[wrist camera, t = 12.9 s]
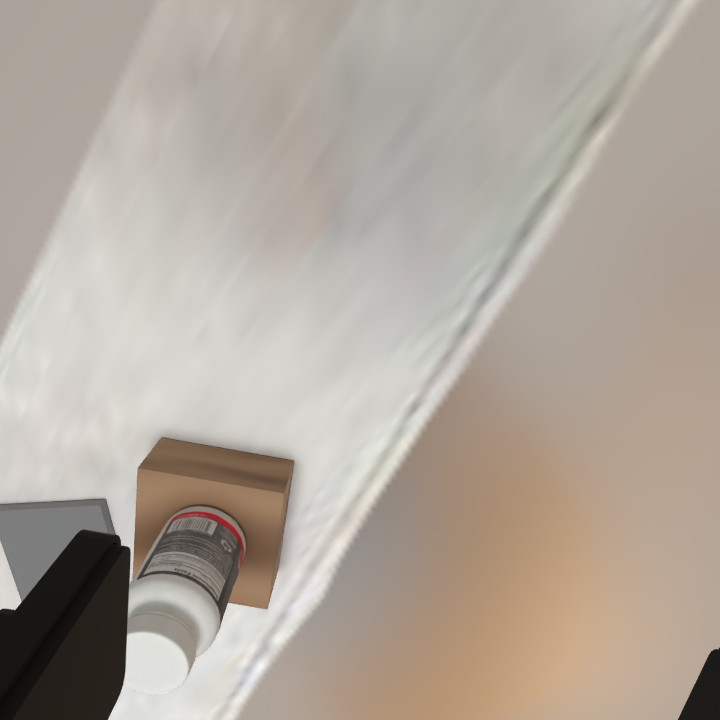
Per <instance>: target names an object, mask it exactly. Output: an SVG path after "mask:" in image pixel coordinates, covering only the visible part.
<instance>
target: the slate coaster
mask: <svg viewBox="0 0 720 720" xmlns="http://www.w3.org/2000/svg"><path fill="white" fill-rule="evenodd" d="M83 529H85V530H91V531H96V532H102V533H108V534H114V535H115V532H114V529H113V525H112V521H111V518H110V514H109V510H108V507H107V503H106V499H96V500H78V501H59V502H41V503H23V504H5V505H0V540H1V543H2V546H3V549H4V552H5V555H6V558H7V560H8V563H9V566H10V569H11V572H12V575H13V578H14V580H15V583H16V586H17V589H18V592H19V595H20V598H21V600H22V601H23V600H24V599H25V598H26V596H27V595H28V594H29V593H30V591H31V590H32V589H33V588H34V586H35V585H36V584H37V583H38V581H39V580H40V579H41V578H42V576H43V575H44V574H45V573H46V571H47V570H48V569H49V568H50V566H51V565H52V564H53V563H54V561H55V560H56V559H57V558H58V556H59V555H60V554H61V553H62V551H63V550H64V549H65V548H66V546H67V545H68V544H69V543H70V541H71V540H72V539H73V538H74V536H75V535H76V534H77V533H78V532H79V531H80V530H83Z"/></svg>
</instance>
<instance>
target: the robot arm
mask: <svg viewBox="0 0 720 720" xmlns="http://www.w3.org/2000/svg"><path fill="white" fill-rule="evenodd" d="M129 578H130V548H129V547H126V546H121V540H120V537H119V536H118V535H114V534H108V533H102V532H96V531H91V530H85V529H83V530H80V531H79V532H78V533H77V534H76V535H75V536H74V538H73V539H72V540H71V541H70V543H69V544H68V545H67V546H66V548H65V549H64V550H63V551H62V553H61V554H60V555H59V556H58V558H57V559H56V560H55V561H54V563H53V564H52V565H51V566H50V568H49V569H48V570H47V571H46V573H45V574H44V575H43V576H42V578H41V579H40V580H39V581H38V583H37V584H36V585H35V586H34V588H33V589H32V590H31V591H30V593H29V594H28V595H27V596H26V598H25V599H24V600H23V601H22V602H21V604H20V605H19V606H18V607H17V609H16V610H11V609H1V610H0V720H108V718H109V716H110V714H111V712H112V710H113V708H114V706H115V704H116V702H117V700H118V697H119V695H120V692H121V689H122V686H123V683H124V678H125V670H126V647H127V624H128V601H129ZM678 720H720V648H719V649H715V650H713V651H711V653H710V654H709V656H708V658H707V660H706V662H705V664H704V666H703V668H702V671H701V673H700V675H699V677H698V679H697V681H696V683H695V685H694V687H693V689H692V691H691V693H690V696H689V698H688V700H687V702H686V704H685V706H684V708H683V710H682V712H681V715H680V717H679V719H678Z"/></svg>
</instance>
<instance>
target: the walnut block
mask: <svg viewBox="0 0 720 720" xmlns="http://www.w3.org/2000/svg"><path fill="white" fill-rule="evenodd" d="M293 465H294V461H292V460H286V459H281V458H275V457H269V456H263V455H258V454H252V453H246V452H241V451H235V450H229V449H223V448H218V447H212V446H206V445H201V444H195V443H189V442H183V441H178V440H172V439H166V438H161V439H160V440H159V441H158V443H157V444H156V445H155V447H154V448H153V449H152V450H151V452H150V453H149V454H148V456H147V457H146V458H145V459H144V461H143V462H142V463H141V465H140V466H139V467H138V474H137V496H136V518H135V540H134V562H133V578H134V577H135V575H136V574H137V572H138V570H139V569H140V567H141V565H142V564H143V561H144V560H145V558H146V556H147V554H148V552H149V551H150V549H151V547H152V545H153V544H154V542H155V541H156V539H157V537H158V536H159V534H160V532H161V530H162V529H163V527H164V526H165V524H166V523H167V521H168V520H169V519H170V518H171V517H172V516H173V515H174V514H176V513H177V512H179V511H180V510H183V509H185V508H189V507H196V506H202V507H210V508H214V509H217V510H220V511H222V512H223V513H225V514H227V515H228V516H230V517H231V518H232V519H234V520H235V521H236V522H237V524H238V525H239V527H240V529H241V530H242V532H243V534H244V537H245V542H246V551H245V555H244V559H243V562H242V565H241V568H240V571H239V573H238V576H237V579H236V582H235V584H234V587H233V590H232V593H231V595H230V598H229V601H228V603H233V604H239V605H245V606H251V607H256V608H262V609H268V605H269V601H270V597H271V594H272V590H273V586H274V583H275V579H276V575H277V572H278V567H279V560H280V553H281V547H282V540H283V533H284V526H285V519H286V513H287V506H288V499H289V492H290V486H291V479H292V472H293Z"/></svg>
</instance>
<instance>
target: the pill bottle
mask: <svg viewBox="0 0 720 720" xmlns="http://www.w3.org/2000/svg"><path fill="white" fill-rule="evenodd" d="M245 551H246V542H245V537H244V534H243V532H242V530H241V529H240V527H239V525H238V524H237V522H236V521H235V520H234V519H232V518H231V517H230V516H228V515H227V514H225V513H223V512H222V511H220V510H217V509H214V508H210V507H202V506H196V507H189V508H185V509H183V510H180V511H179V512H177V513H176V514H174V515H173V516H172V517H171V518H170V519H169V520H168V521H167V523H166V524H165V526H164V527H163V529H162V530H161V532H160V534H159V536H158V537H157V539H156V541H155V542H154V544H153V545H152V547H151V549H150V551H149V552H148V554H147V556H146V558H145V560H144V561H143V564H142V565H141V567H140V569H139V570H138V572H137V574H136V575H135V577H134V578H133V580H132V582H131V583H130V585H129V601H128V624H127V647H126V670H125V678H124V683H123V684H124V685H125V686H127V687H129V688H131V689H133V690H135V691H138V692H141V693H145V694H152V695H158V694H165V693H168V692H171V691H173V690H175V689H177V688H178V687H180V686H181V685H182V684H183V683H184V681H185V680H186V679H187V677H188V675H189V673H190V670H191V668H192V665H193V663H194V661H195V658H196V657H198V656H200V655H201V654H202V653H204V652H205V651H206V650H207V649H208V648H209V647H210V646H211V644H212V643H213V641H214V639H215V637H216V635H217V633H218V631H219V629H220V625H221V622H222V619H223V615H224V613H225V610H226V607H227V604H228V601H229V598H230V595H231V593H232V590H233V587H234V584H235V582H236V579H237V576H238V573H239V571H240V568H241V565H242V562H243V559H244V555H245Z"/></svg>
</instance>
